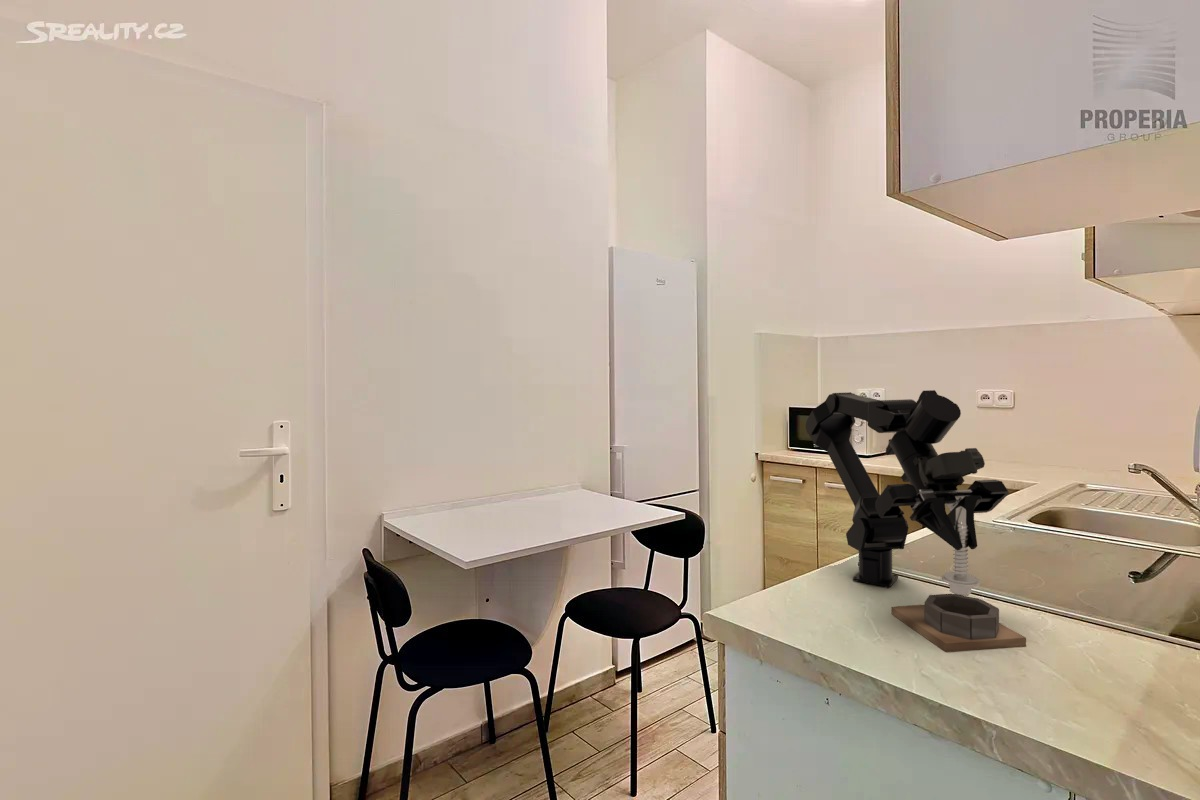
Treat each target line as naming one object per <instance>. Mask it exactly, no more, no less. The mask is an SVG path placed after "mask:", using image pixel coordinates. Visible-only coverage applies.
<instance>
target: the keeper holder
mask: <svg viewBox="0 0 1200 800" xmlns="http://www.w3.org/2000/svg"><path fill="white" fill-rule="evenodd" d="M890 609H891V610H890V611H891V615H892V616H894V617H895V618H896V619H898V620H899V621H901V622H902V623H904V624H905V625H907V626H908V627H909V628H911V629H912V630H914V631H915V632H917V633H918V634H920V635H921V636H922V637H924V638H925V639H927V640H928V641H929V642H931V643H932V644H934V645H935V646H937V647H938V648H939V649H941V650H942V651H944V652H945V653H947V652H949V653H950V652H962V651H963V652H964V651H975V650H989V649H990V650H991V649H1003V648H1015V647H1016V648H1018V647H1027V637H1026V636H1024V635H1023V634H1020V633H1019V632H1017V631H1015V630H1013V629H1011V628H1009V627H1007V626H1006V625H1004V624H1002V623H1000V609H999V608H998V607H997V606H995V605H993V604H991V603H989V602H987V601H985V600H983V599H981V598H977V597H972V596H969V595H968V596H965V595H957V594H954V593H940V594H938V593H937V594H930V595H928V596H927V597H926V599H925V601H924V604H914V605H910V604H909V605H898V606H894V605H893V606H891V607H890Z"/></svg>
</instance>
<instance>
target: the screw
mask: <svg viewBox="0 0 1200 800" xmlns="http://www.w3.org/2000/svg"><path fill="white" fill-rule="evenodd" d="M954 527H955V530H956V532H957V534H958V536H959V538H960V541H961V543H962V546H963V548H962V549H961V550H956V549H955V548H954V549H953V550H952V551H953V552H954V553H953V555H954V557H953V559H954V561H953V563H954V565H953V568H954V569H953V570H952V571H948V572H944V573H943V574H942V575H941V580H942V581H943V582H945V583H946V584H947V583H948V584H949V592H951V594H957V595H963V596H968V597H969V595H971V594H972V588H973V587H974V588H975V587H978V586H980V585H981V581H980V579H979V578H978V577H977V576H975V575H973V574H971V573H969V572H968V571H969V569H968V567H969V564H968V563H969V561H968V560H969V557H968V555H969V553H968V551H969V549H968V547H969V546H968V545H967V543H968V541H967V539H968V537H967V535H968V533H967V531H968V529H967V527H968V526H967V525H966V509H965V508H963V507H962V506H960V507H958V508H956V522H955V526H954Z"/></svg>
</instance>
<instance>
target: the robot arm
mask: <svg viewBox="0 0 1200 800" xmlns="http://www.w3.org/2000/svg"><path fill="white" fill-rule="evenodd" d="M961 414H962V413H961V409H960V407H959V406H958V404H957V403H955V402H954V401H952V400H950V399H949V398H947V397H945V396H943V395H939V394H938V393H937V391H936V390H935V389H933V390H931V389H930V390H922V391H921V393H920V394H919V397H918V399H917V400H916V401H915V400H914V399H886V400H885V399H883V400H880V399H877V398H872V397H868V396H863V395H858V394H855V393H852V392H833V393H830V394H828V396H827V397H826V399H825V401H823V402H822V403H820V404H819V405H817V406H816V407H815V408H813V409H812V410H811V412H810V414H809V416H808V417H807V419H806V421H805V430H806V433H807V434H808V436H809V437H810V439H811V441H812V442H813V444H814V445H815V446H817V447H818V448H820V449H821V450H823V451H824V452H826V453H827V454H828V456H829V458H830V460H831V462H832V464H833V466H834V468H835V470H836V472H837V474H838V476H839V478H840V480H841V482H842V483H843V486H844V487H845V490H846V492H847V494H848V495H849V497H850V499H851V501H852V504H853V505H854V511H853V516H852V524H851V526H850V527H849V529H848V530H847V532H846V534H845V537H846V541H847V546H850V547H851V548H853V549H854V550H856V551H858V572H857V573H855V574H854V575H853V577H852V580H853V581H854V582H855V581H856V582H860V583H863V584H864V583H865V584H870V585H875V586H880V587H886V588H890V587H891V588H892V585H893V584H894V583H895V582H896V581H897V580H898V578H899V575H898V574H895V573H893V550H904V548H905V544H906V541H907V537H908V532H909V524H908V521H907V519H906V518H905V516H904V515H905V512H904V511H903V510H902V509H901V508H900V507H905V506H906V507H910V508H911V510H912V513H911V514H910V516H909V520H911V521H912V522H917V523H919V524H920V525H922V526H923V527H925V528H927V530H929V531H931V532H932V533H934V534H935V535H937V536H938V537H939V538H940V539H942V540H943V541H944V542H946V543H947V544H948V545H949V546H951V547H952V548H953V549H954V550H955V549H956V550H961V549H962V548H963V546H962V543H961V541H960V538H959V536H958V534H957V532H956V530H955V527H954V526H955V522H956V508H958V507H960V506H962V507H963V508H965V509H966V525H967V526H968V527H967V529H968V531H967V533H968V535H967V537H968V539H967V541H968V543H967V545H968V547H969V549H970V550H976V549H977V547H978V541H977V532H976V525H975V514H982V513H983V514H984V513H986V514H987V513H989V512H992V511H993V510H994V509H995V508H996V507H997V506H998V505H999V504H1000V503H1002V501H1003V500H1004V499H1005V498H1007V497H1008V496H1009V494H1010V492H1009V490H1008V488H1007V487H1006V485H1005V483H1004V482H1003V481H1002V480H999V479H982V480H981V479H980V480H974V481H973V482H972V483H971V484H970V486H968V488H967V489H958V486H962V484H963V483H964V482H965V479H964V477H966V476H969V475H971V474H972V475H975V474H978V470H980V469H983V468H984V467H985V464H986V463H985V460H984V457H983V455H982V454H981V452H980V451H979V450H978V448H976V447H971V448H968V447H967V448H965V449H964V450H960V451H950V452H944V453H943V452H942V453H940V454H938V452H937V450H936V449H935V447H934V445H936V444H938V443H941V442H942V440H943V439H944V438H945V437H946V436H947V434H948V433H949V431H950V430H951V429H952V428H953V426H955V423H956V422H957V421H958V420H959V418H960V417H961ZM855 418H856V419H859V420H863V421H866V422H867V426H868V427H869V428H870V429H872V430H873V431H875V432H876V433H878V434H889V433H894V435H893V436H892V438H889V439H888V444H887V446H886V448H885V455H887V456H893V455H894V456H895V458H896V459H897V461H898V463H899V465H900V467H901V468H902V470H903V473H902V475H901V477H900V478H901V481H902V482H903V483H897V484H887V485H886V486H885V488H884V490H883V491H882V492H881V493H879V492H878V490H877V488H876V487H875V484H874V483H873V481H872V479H871V477H870V475H869V473H868V471H867V470H866V467H865V466H864V465H863V463H862V461H861V458H860V456H858V455H859V454H857V452H856V450H855V448H854V446H853V445H852V443H851V441H850V440H851V435H852V430H853V429H852V427H853V426H854V425H855V423H856V419H855ZM946 507H947V509H948V511H949V513H947V512H946Z"/></svg>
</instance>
